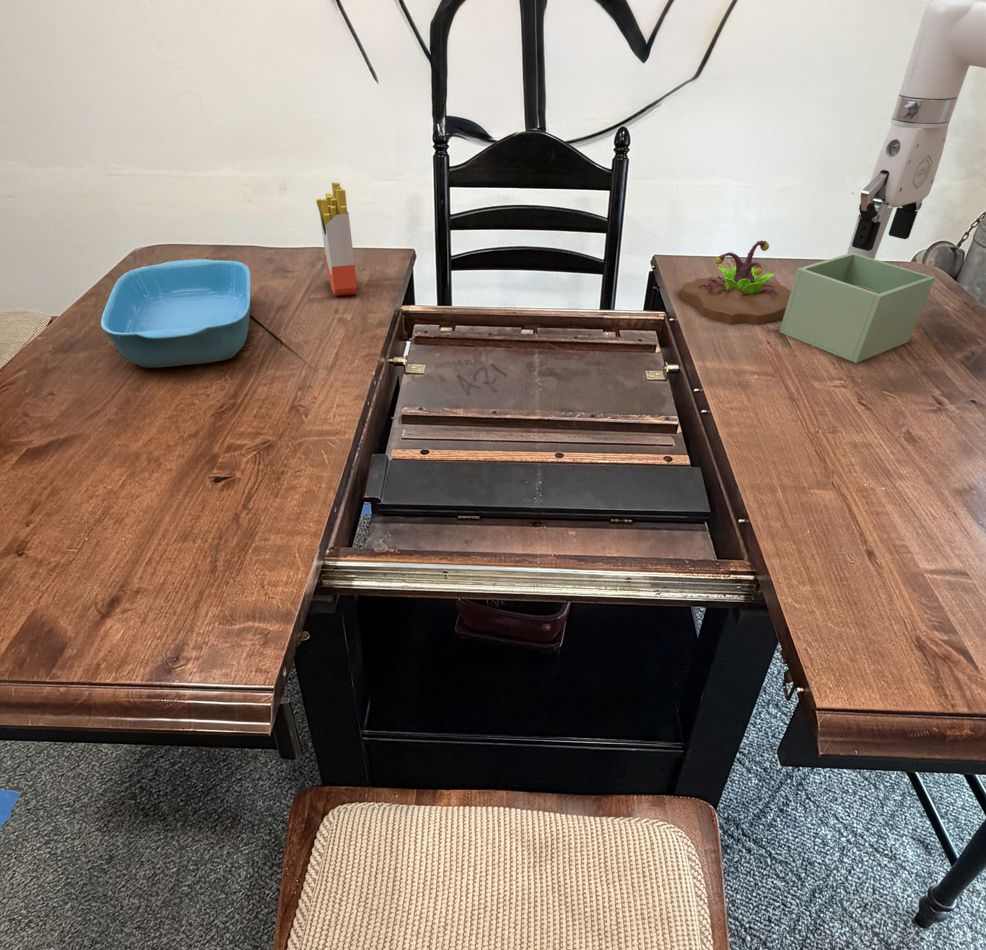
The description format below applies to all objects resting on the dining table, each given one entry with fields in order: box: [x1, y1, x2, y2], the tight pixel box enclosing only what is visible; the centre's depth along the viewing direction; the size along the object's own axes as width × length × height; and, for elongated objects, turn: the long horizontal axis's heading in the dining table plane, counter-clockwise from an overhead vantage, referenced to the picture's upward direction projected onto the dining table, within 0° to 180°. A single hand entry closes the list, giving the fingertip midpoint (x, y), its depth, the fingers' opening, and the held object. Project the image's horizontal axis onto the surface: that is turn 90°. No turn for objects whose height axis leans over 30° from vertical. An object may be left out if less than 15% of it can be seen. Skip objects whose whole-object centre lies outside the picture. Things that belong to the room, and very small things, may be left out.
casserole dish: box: [100, 258, 252, 369], centre depth 118 cm, size 37×22×7 cm, turn 14°
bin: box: [779, 253, 936, 364], centre depth 118 cm, size 15×15×11 cm
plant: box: [680, 240, 791, 326], centre depth 129 cm, size 20×20×11 cm
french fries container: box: [315, 181, 358, 297], centre depth 130 cm, size 5×11×18 cm, turn 17°
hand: (880, 242), depth 111 cm, fingers open, 9 cm apart
